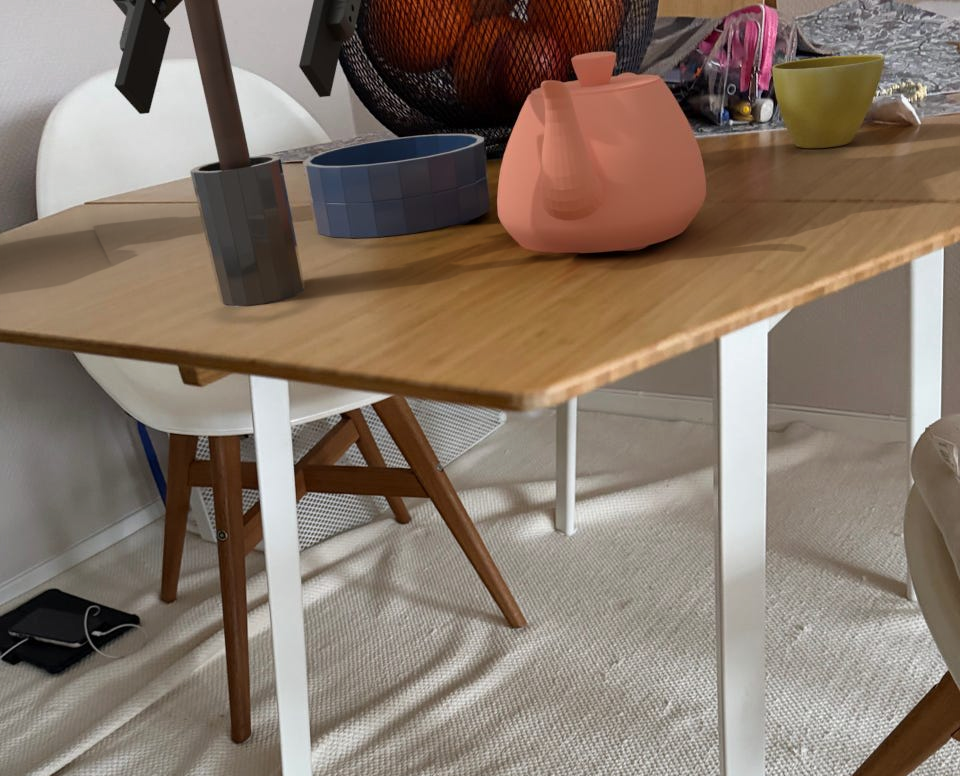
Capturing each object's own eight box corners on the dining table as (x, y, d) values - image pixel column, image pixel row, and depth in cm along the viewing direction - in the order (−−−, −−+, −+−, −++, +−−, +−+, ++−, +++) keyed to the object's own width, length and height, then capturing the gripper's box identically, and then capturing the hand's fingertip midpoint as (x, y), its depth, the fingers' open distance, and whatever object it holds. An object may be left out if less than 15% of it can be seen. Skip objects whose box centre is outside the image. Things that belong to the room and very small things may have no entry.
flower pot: (869, 131, 109) (875, 50, 105) (887, 147, 101) (894, 59, 97) (765, 141, 111) (768, 62, 107) (774, 157, 102) (777, 72, 99)
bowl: (285, 248, 91) (270, 171, 88) (363, 209, 103) (353, 140, 100) (452, 242, 86) (442, 160, 83) (515, 202, 98) (508, 129, 95)
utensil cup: (206, 315, 75) (173, 174, 70) (250, 291, 79) (221, 158, 74) (280, 314, 73) (250, 169, 68) (320, 290, 77) (295, 153, 72)
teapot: (672, 279, 69) (668, 61, 63) (452, 284, 74) (428, 84, 68) (727, 205, 86) (728, 28, 80) (545, 213, 92) (533, 48, 85)
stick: (243, 298, 75) (168, -42, 65) (257, 290, 77) (186, -44, 66) (268, 297, 74) (196, -47, 64) (282, 289, 76) (214, -48, 66)
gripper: (479, -169, 72) (422, 115, 68) (164, -112, 81) (98, 142, 77) (438, -284, 65) (372, 25, 61) (99, -208, 74) (23, 66, 70)
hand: (220, 91), depth 69 cm, fingers open, 13 cm apart
